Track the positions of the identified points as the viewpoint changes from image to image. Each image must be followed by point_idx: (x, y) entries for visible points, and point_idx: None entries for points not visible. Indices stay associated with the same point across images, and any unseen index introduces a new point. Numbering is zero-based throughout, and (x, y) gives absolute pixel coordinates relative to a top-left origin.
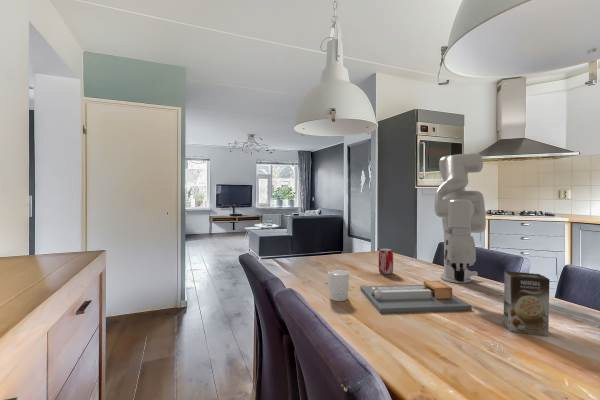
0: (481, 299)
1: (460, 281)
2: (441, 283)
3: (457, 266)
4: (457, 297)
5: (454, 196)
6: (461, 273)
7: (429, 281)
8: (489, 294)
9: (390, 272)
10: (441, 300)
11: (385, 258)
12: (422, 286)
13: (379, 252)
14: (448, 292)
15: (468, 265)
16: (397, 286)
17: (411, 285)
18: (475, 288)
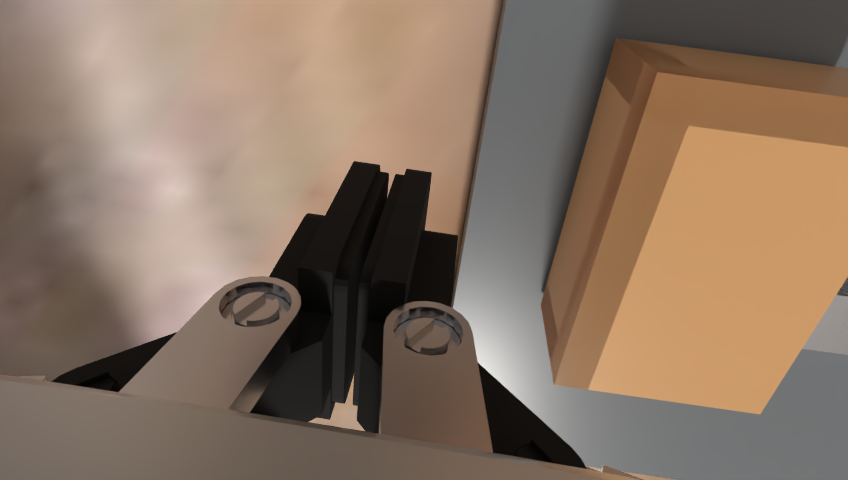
0: (174, 65)
1: (416, 171)
2: (623, 289)
3: (448, 399)
4: (495, 75)
5: None
6: (357, 260)
7: (705, 387)
8: (11, 176)
9: None
10: (799, 19)
11: None
12: (829, 332)
13: None
14: (697, 61)
15: (68, 376)
16: (829, 477)
17: (672, 467)
18: (71, 330)
